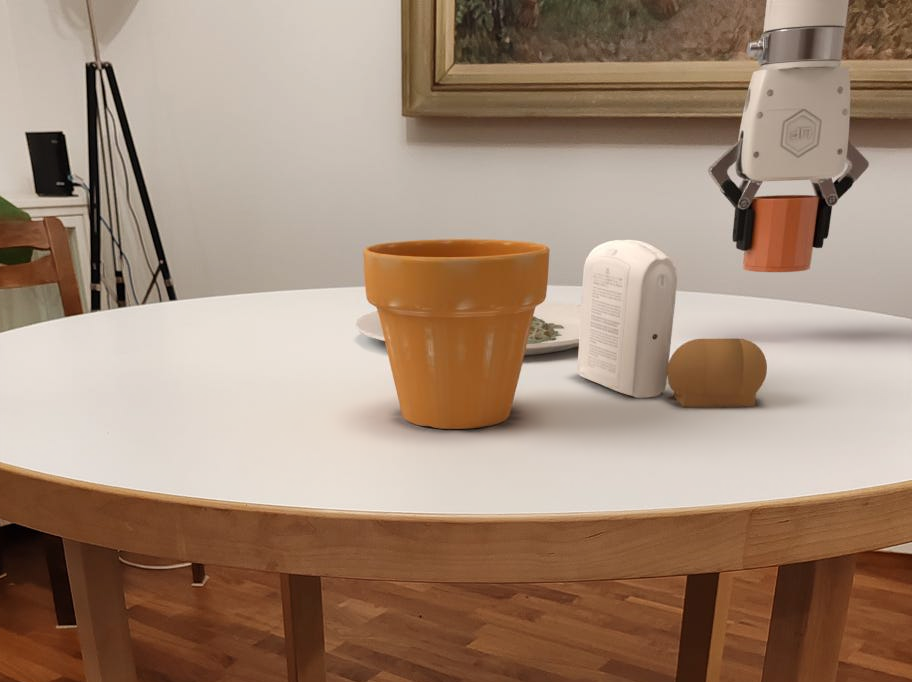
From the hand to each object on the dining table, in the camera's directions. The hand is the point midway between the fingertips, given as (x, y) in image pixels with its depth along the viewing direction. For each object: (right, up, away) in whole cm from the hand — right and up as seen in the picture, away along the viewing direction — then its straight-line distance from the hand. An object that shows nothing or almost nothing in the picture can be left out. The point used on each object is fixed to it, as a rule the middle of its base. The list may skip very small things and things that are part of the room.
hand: (778, 246), depth 104 cm
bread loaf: (-13, -21, -20) cm, 32 cm away
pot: (0, -2, +1) cm, 2 cm away
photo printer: (-20, -19, -15) cm, 31 cm away
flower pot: (-35, -23, -23) cm, 48 cm away
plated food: (-30, -7, +8) cm, 32 cm away
